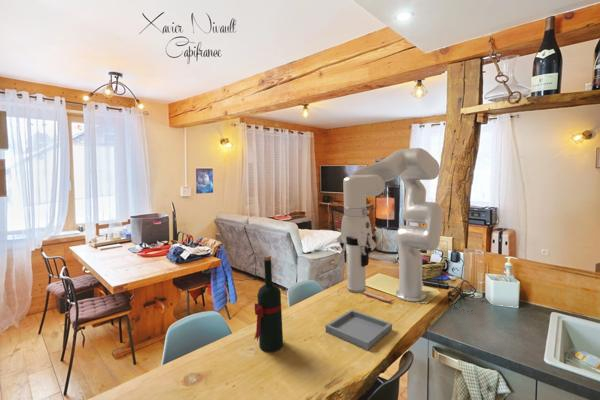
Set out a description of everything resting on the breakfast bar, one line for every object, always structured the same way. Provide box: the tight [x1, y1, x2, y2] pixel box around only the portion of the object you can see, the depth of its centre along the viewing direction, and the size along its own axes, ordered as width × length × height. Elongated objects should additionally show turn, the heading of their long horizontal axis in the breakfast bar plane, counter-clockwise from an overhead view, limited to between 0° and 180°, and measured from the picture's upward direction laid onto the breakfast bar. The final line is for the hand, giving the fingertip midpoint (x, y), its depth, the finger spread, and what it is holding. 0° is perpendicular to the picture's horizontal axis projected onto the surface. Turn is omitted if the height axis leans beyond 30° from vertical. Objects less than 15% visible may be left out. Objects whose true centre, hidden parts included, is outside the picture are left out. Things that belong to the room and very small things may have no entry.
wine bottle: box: [253, 254, 284, 353], centre depth 97 cm, size 8×10×30 cm
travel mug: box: [346, 236, 367, 295], centre depth 104 cm, size 6×7×20 cm
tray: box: [324, 309, 393, 352], centre depth 106 cm, size 16×17×2 cm
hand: (356, 263), depth 104 cm, fingers closed on travel mug, 6 cm apart
